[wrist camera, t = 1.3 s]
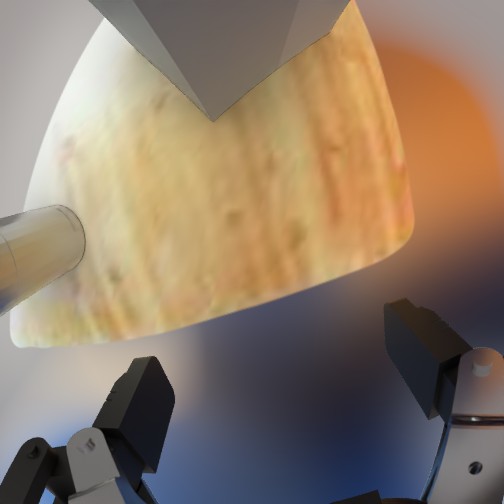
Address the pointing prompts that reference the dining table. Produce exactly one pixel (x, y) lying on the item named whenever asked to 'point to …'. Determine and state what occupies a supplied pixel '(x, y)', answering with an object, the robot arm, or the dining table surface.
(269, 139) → the dining table surface
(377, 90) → the dining table surface
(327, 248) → the dining table surface
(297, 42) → the stepped stand
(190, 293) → the dining table surface
